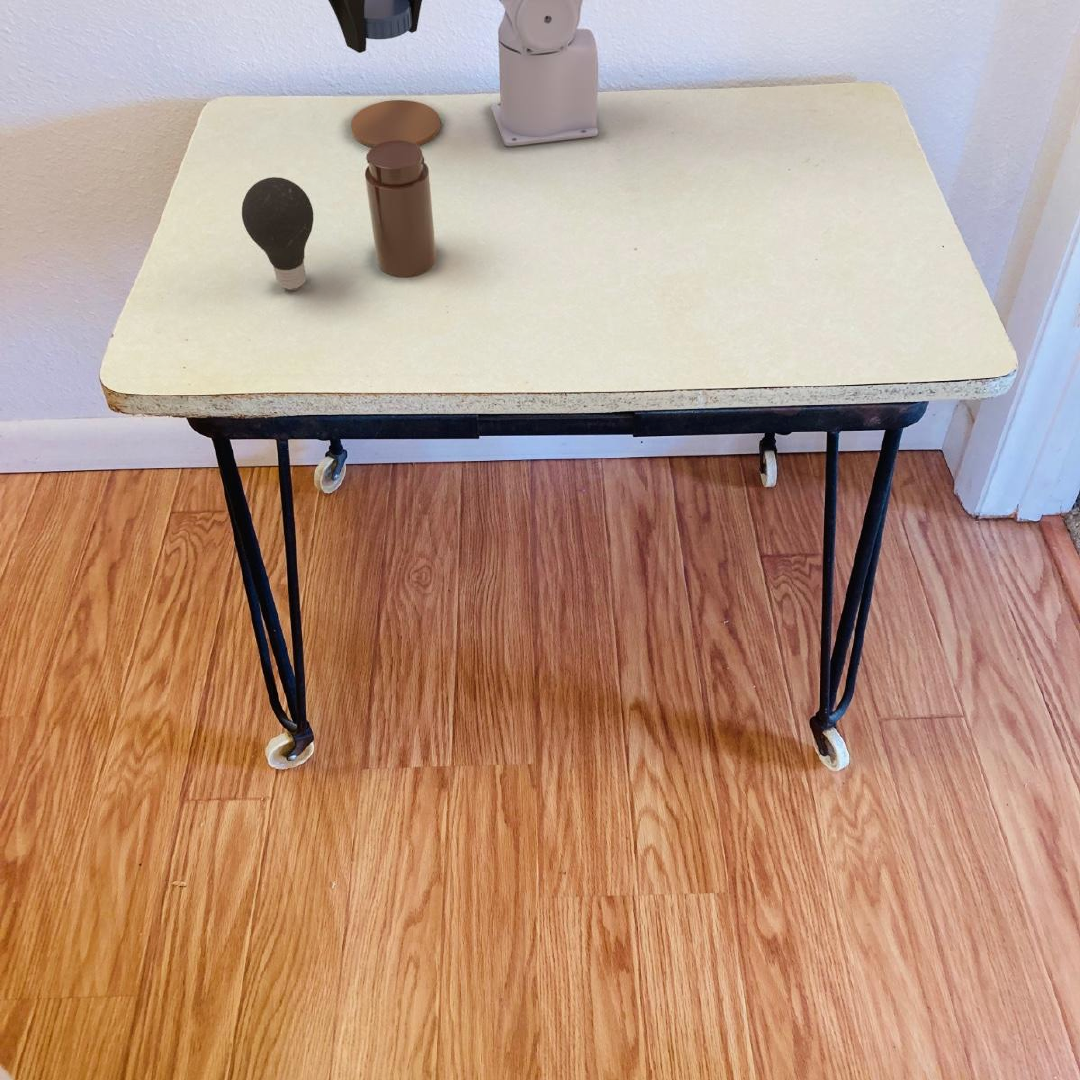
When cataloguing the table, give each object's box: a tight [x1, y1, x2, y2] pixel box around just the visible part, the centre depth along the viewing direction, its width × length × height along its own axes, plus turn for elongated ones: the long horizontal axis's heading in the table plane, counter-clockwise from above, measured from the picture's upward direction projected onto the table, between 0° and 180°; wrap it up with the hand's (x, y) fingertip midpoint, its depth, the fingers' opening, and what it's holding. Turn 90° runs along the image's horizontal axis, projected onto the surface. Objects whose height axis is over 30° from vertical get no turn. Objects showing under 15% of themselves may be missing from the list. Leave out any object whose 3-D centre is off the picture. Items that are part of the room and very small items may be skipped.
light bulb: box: [241, 176, 314, 291], centre depth 89 cm, size 6×6×10 cm
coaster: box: [350, 99, 442, 148], centre depth 110 cm, size 9×9×1 cm
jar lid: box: [364, 0, 412, 40], centre depth 99 cm, size 6×6×2 cm
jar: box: [364, 140, 437, 278], centre depth 91 cm, size 5×5×10 cm
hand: (381, 38), depth 100 cm, fingers closed on jar lid, 5 cm apart
